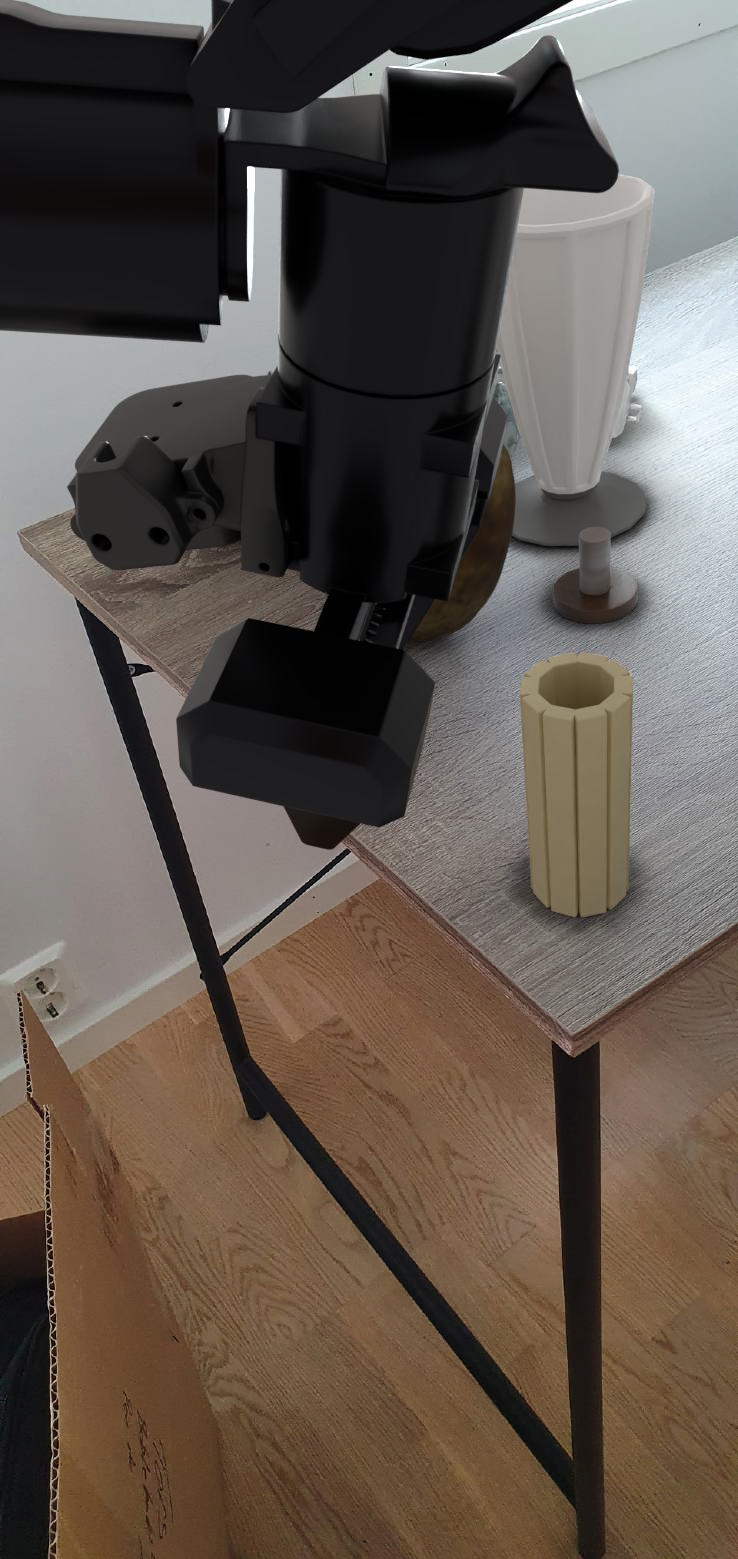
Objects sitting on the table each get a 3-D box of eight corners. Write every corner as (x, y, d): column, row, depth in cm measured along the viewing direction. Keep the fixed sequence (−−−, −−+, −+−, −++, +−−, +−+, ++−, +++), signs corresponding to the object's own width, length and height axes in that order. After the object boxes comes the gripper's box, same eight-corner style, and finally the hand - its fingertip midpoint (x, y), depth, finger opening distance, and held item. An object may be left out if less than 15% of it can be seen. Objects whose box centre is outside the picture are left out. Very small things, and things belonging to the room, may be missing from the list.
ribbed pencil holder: (648, 874, 57) (656, 675, 48) (588, 932, 54) (586, 735, 46) (571, 833, 60) (567, 639, 51) (511, 887, 57) (496, 693, 49)
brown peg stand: (654, 593, 75) (657, 527, 72) (603, 633, 73) (603, 566, 69) (586, 569, 78) (586, 504, 75) (535, 606, 76) (532, 541, 73)
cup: (635, 464, 88) (642, 162, 74) (659, 538, 80) (671, 212, 66) (489, 480, 90) (468, 186, 76) (496, 554, 81) (474, 238, 67)
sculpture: (517, 589, 78) (500, 293, 65) (528, 660, 71) (511, 348, 58) (327, 610, 79) (273, 323, 66) (322, 681, 73) (260, 380, 60)
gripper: (204, 164, 36) (216, 555, 48) (-72, 476, 24) (35, 901, 36) (544, 222, 35) (472, 607, 47) (438, 579, 23) (376, 981, 35)
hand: (349, 748), depth 41 cm, fingers open, 9 cm apart
